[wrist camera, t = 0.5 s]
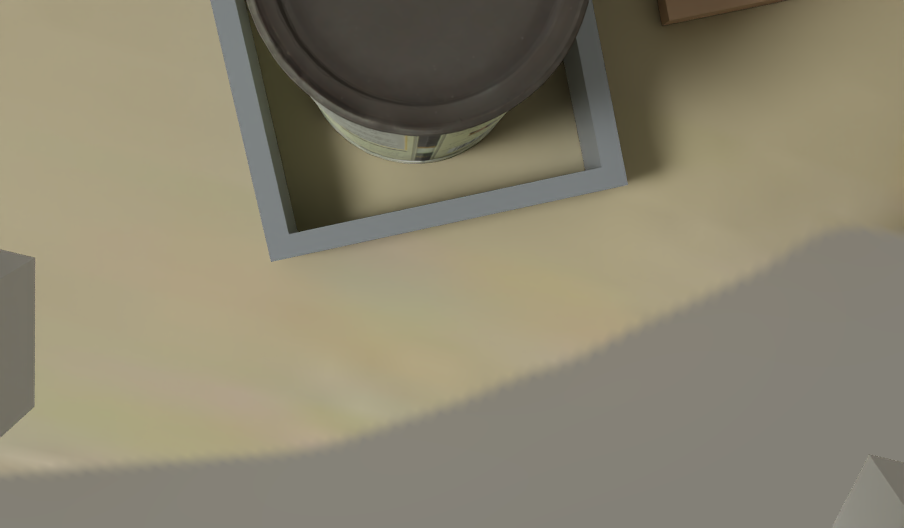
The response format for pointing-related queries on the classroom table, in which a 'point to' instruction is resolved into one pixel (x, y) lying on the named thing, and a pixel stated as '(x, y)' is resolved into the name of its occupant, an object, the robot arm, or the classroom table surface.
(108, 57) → the classroom table surface
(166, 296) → the classroom table surface
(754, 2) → the walnut board
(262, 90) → the grey tub
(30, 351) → the robot arm
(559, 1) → the coffee can
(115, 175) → the classroom table surface
